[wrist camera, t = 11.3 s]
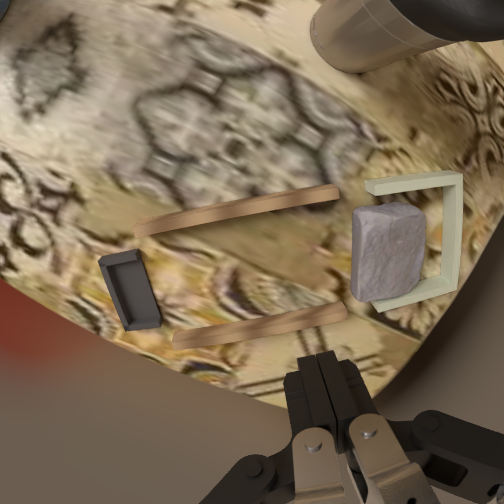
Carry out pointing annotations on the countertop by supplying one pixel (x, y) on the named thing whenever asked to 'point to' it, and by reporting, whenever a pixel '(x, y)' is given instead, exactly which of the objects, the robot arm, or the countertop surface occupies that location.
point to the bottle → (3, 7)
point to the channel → (258, 325)
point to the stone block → (386, 250)
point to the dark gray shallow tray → (130, 290)
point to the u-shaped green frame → (450, 237)
